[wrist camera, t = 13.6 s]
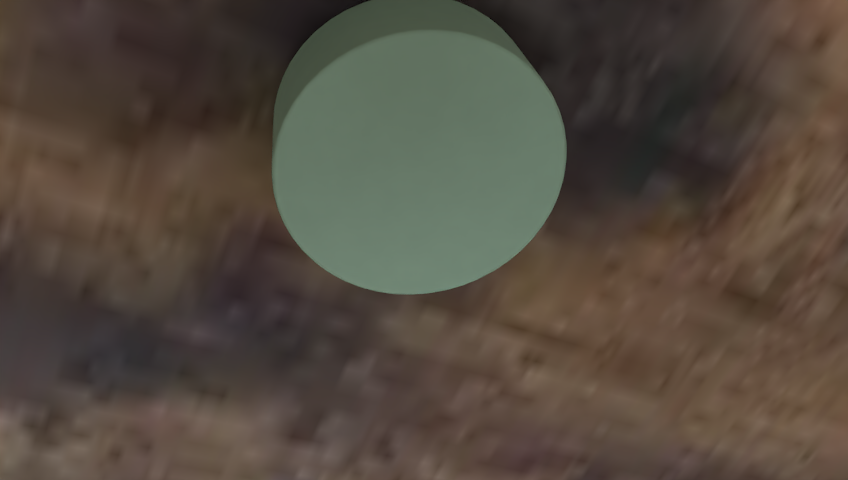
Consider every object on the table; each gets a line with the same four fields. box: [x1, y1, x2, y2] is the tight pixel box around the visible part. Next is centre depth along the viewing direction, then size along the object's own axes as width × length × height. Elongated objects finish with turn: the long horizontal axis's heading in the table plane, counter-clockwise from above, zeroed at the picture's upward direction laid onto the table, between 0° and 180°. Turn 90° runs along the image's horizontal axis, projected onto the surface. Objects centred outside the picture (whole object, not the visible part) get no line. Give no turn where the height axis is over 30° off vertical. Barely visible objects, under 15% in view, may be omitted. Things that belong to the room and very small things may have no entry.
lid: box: [272, 0, 567, 295], centre depth 17 cm, size 6×6×2 cm
